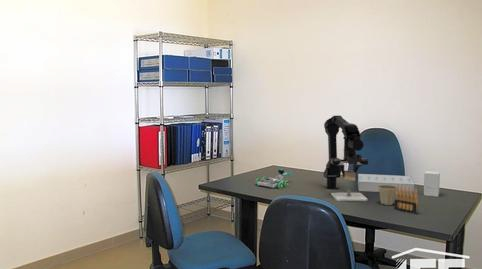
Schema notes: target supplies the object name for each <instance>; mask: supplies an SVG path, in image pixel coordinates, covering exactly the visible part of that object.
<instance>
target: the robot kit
mask: <svg viewBox="0 0 482 269" xmlns="http://www.w3.org/2000/svg"><path fill="white" fill-rule="evenodd" d="M277 173H278V175H276V176H275V178H273V177H269V176H268V177H267V176H263V177H261V178H259V177H258V178H256V179H255V185H256V184H257V185H256V186H263V187H268V188H276V189H278V188H279V189H278V190H281V188H282V189H283V187H285V188H288V187H289V185H290V182H289V180H288V179H287V180H286V179H284V177H286V176H287V177H290V176H292V175H293V172H289V173H288V172H285V169H284V168H278V172H277Z"/></svg>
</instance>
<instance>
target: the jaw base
mask: <svg viewBox="0 0 482 269" xmlns="http://www.w3.org/2000/svg"><path fill="white" fill-rule="evenodd" d="M330 194H331V197H333V198H334V200H335V201H337V202H339V201H343V202H344V201H349V202H350V201H353V202H354V201H357V202H359V201H367V202H368V198H367V197H366V196H365V195H364V194H363V193H361V192H352V190H351V189H347V190H346V192H331V193H330Z"/></svg>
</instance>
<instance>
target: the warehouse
mask: <svg viewBox="0 0 482 269" xmlns="http://www.w3.org/2000/svg"><path fill="white" fill-rule="evenodd" d="M379 185H392V186H396V187H397V185H398V186H399V194H400V187H401V186H402V189H403V192H404V187H406V194H407V189H408V187H409V188H410V195H411V189H412V187H413V191H414V193H415V189H416V185H415V181H414V180H413V178H412V176H411V175H398V174H397V175H395V174H394V175H393V174H392V175H391V174H375V173H374V174H371V173H369V174H368V173H358V174H357V188H358V191H359V192H375V193H379V188H378V186H379ZM395 194H396V192H395Z"/></svg>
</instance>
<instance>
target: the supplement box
mask: <svg viewBox="0 0 482 269" xmlns="http://www.w3.org/2000/svg"><path fill="white" fill-rule="evenodd" d="M423 174H424V176H423V177H424V178H423V196H427V197H439V196H440V182H441V181H440V180H441V179H440V178H441V171H432V170H431V171H430V170H425V172H424V173H423Z"/></svg>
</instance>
